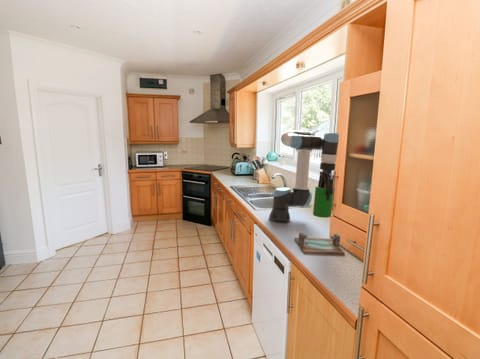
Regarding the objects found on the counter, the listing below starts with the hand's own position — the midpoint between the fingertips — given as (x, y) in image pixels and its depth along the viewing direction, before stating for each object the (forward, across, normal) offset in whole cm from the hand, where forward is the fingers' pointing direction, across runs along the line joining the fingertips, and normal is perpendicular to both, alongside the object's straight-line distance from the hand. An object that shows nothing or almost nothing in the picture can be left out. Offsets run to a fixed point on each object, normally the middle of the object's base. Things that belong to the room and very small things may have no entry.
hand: (323, 204), depth 141 cm
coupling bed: (+25, 0, 0) cm, 25 cm away
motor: (+6, +1, 0) cm, 6 cm away
